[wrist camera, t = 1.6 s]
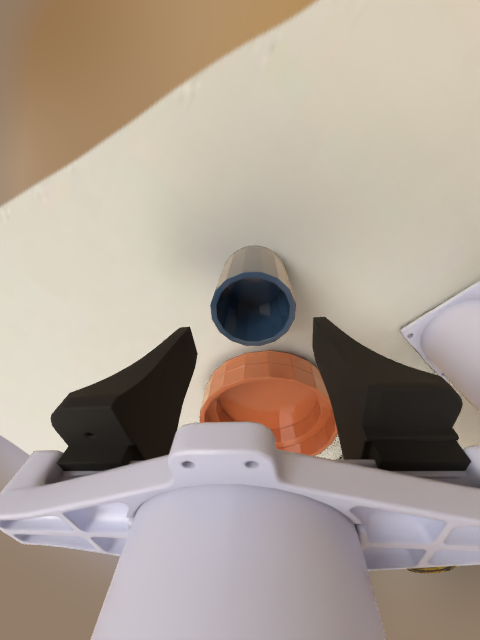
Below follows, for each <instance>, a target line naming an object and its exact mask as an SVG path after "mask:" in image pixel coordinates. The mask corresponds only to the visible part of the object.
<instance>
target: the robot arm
mask: <svg viewBox="0 0 480 640" xmlns="http://www.w3.org/2000/svg"><path fill="white" fill-rule="evenodd" d="M410 333H411V334H410ZM401 334H402V335H403V336H404V337H405V339H406V340H407V341H408V342H409V343H410V344H411V345H412V346H413V347H414V349H415V350H416V351H417V352H418V353H419V354H420V355H421V356H422V357H423V359H424V360H425V361H426V362H427V363H428V364H429V365H430V366H431V367H432V369H433V370H434V371H435V372H436V373H437V374H438V375H439V376H438V375H434V374H431V373H427V372H424V371H420V370H417V369H414V368H411V367H408V366H406V365H403V364H400V363H398V362H395V361H393V360H391V359H388V358H386V357H384V356H382V355H380V354H378V353H376V352H374V351H372V350H370V349H368V348H367V347H365V346H363V345H361V344H360V343H358V342H357V341H355V340H354V339H352V338H351V337H349V336H348V335H347V334H345V333H344V332H343V331H341V330H340V329H339V328H338V327H336V326H335V325H334V324H333V323H332V322H330V321H329V320H328V319H327V318H326V317H315V318H313V351H314V356H315V360H316V363H317V366H318V369H319V372H320V374H321V377H322V380H323V382H324V385H325V388H326V390H327V393H328V396H329V399H330V402H331V406H332V410H333V414H334V418H335V422H336V427H337V431H338V435H339V440H340V444H341V449H342V453H343V458H344V460H331V459H326V458H320V457H315V456H310V455H305V454H300V453H295V452H290V451H285V450H280V449H277V448H276V443H275V436H274V434H273V432H272V431H271V429H269V428H268V427H266V426H264V425H262V424H261V423H256V422H249V421H245V422H205V423H191V424H187V425H183V426H182V427H181V428H180V429H178V430H177V428H178V422H179V418H180V413H181V409H182V405H183V401H184V398H185V395H186V392H187V390H188V387H189V384H190V381H191V378H192V375H193V372H194V369H195V365H196V359H197V350H196V347H195V343H194V340H193V336H192V332H191V329H190V327H182V328H179V329H178V330H176V331H175V332H174V333H173V334H172V335H170V336H169V337H168V338H167V339H166V340H164V341H163V342H162V343H161V344H160V345H159V346H157V347H156V348H155V349H153V350H152V351H151V352H149V353H148V354H147V355H146V356H144V357H143V358H141V359H140V360H138V361H137V362H135V363H134V364H132V365H130V366H129V367H127V368H125V369H123V370H122V371H120V372H118V373H116V374H114V375H112V376H110V377H108V378H106V379H104V380H102V381H99V382H97V383H95V384H92V385H90V386H87V387H85V388H82V389H79V390H77V391H74V392H71V393H69V394H68V396H67V397H66V398H65V399H64V400H63V402H62V403H61V404H60V405H59V406H58V407H57V409H56V410H55V411H54V412H53V413H52V415H51V423H52V426H53V427H54V429H55V430H56V432H57V433H58V434H59V435H60V436H61V437H62V439H63V440H64V441H65V442H66V443H67V445H68V448H67V449H66V451H65V452H64V453H63V452H60V451H55V450H52V451H34V452H33V453H32V454H31V456H30V457H29V458H28V459H27V461H26V462H25V463H24V465H23V466H22V467H21V468H20V469H19V471H18V472H17V473H16V475H15V476H14V477H13V478H12V479H11V481H10V482H9V483H8V484H7V486H6V487H5V488H4V489H3V490H2V492H1V493H0V530H1V531H3V532H5V533H6V534H8V535H9V536H11V537H12V538H14V539H15V540H17V541H18V542H20V543H22V544H34V545H48V546H57V547H65V548H72V549H79V550H85V551H92V552H98V553H104V554H110V555H116V556H120V559H119V562H118V565H117V567H116V570H115V573H114V576H113V579H112V581H111V584H110V587H109V590H108V593H107V596H106V598H105V601H104V604H103V606H102V610H101V612H100V615H99V618H98V620H97V623H96V626H95V629H94V632H93V634H92V637H91V640H387V639H386V636H385V632H384V628H383V625H382V621H381V617H380V614H379V610H378V606H377V602H376V599H375V595H374V592H373V588H372V585H371V581H370V577H369V573H368V571H376V570H394V569H410V568H427V567H443V566H463V565H480V446H469V447H467V448H464V449H462V448H461V447H460V445H459V444H458V443H457V441H456V440H458V439H459V437H458V435H457V433H456V432H455V431H454V429H453V428H452V427H453V425H454V423H455V421H456V419H457V417H458V416H459V414H460V411H461V408H462V399H461V398H460V396H459V395H458V394H457V393H456V391H455V390H454V389H453V388H452V387H451V386H450V385H449V384H448V383H447V382H449V381H451V383H452V384H453V385H454V386H455V387H456V388H457V389H458V390H459V391H460V392H461V393H462V394H463V396H464V397H465V398H466V399H467V400H468V401H469V402H470V403H471V404H472V405H473V406H474V407H475V409H476V410H477V411H478V412H479V413H480V281H478V282H476V283H475V284H473V285H472V286H470V287H468V288H467V289H465V290H464V291H462V292H460V293H459V294H457V295H455V296H454V297H452V298H451V299H449V300H447V301H446V302H444V303H442V304H441V305H439V306H438V307H436V308H434V309H433V310H431V311H429V312H428V313H426V314H425V315H423V316H421V317H420V318H418V319H416V320H415V321H413V322H412V323H410V324H408V325H407V326H405V327H404V328H402V329H401ZM409 334H410V335H409Z"/></svg>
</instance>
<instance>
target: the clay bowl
mask: <svg viewBox="0 0 480 640" xmlns="http://www.w3.org/2000/svg"><path fill="white" fill-rule="evenodd" d="M245 421H249V422H256V423H261V424H262V425H264V426H266V427H268V428H269V429H271V431H272V432H273V434H274V436H275V443H276V448H277V449H280V450H285V451H290V452H295V453H300V454H305V455H310V456H315V455H317V454H320V453H321V452H322V451H323V450H325V449H326V448H327V447H328V446H329V445H331V444H332V443H333V441H334V439H335V437H336V436H337V434H338V431H337V427H336V422H335V418H334V414H333V410H332V406H331V402H330V399H329V396H328V393H327V390H326V388H325V385H324V382H323V380H322V377H321V374H320V372H319V369H318V368H316V367H315V366H314V365H313V364H312V363H311V362H309V361H307V360H305V359H302V358H300V357H297V356H295V355H293V354H290V353H283V352H276V351H261V352H252V353H247V354H246V353H245V354H243V355H240V356H237V357H235V358H232V359H230V360H228V361H226V362H225V363H224V364H223V365H221V366H220V367H219V368H218V369H216V370H215V371H214V372H213V374H212V376H211V378H210V380H209V381H208V383H207V386H206V390H205V394H204V398H203V402H202V406H201V410H200V423H205V422H245Z"/></svg>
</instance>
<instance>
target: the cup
mask: <svg viewBox="0 0 480 640" xmlns="http://www.w3.org/2000/svg"><path fill="white" fill-rule="evenodd" d="M210 306H211V315H212V320H213V322H214V323H215V325H216V327H217V328H218V330H219V331H220V333H222V334H223V335H224V336H226V337H227V338H228V339H230V340H231V341H233V342H236V343H239V344H242V345H246V346H262V345H265V344H268V343H271V342H274V341H276V340H277V339H279V338H280V337H281V336H283V335H284V334H285V333H286V332H287V331H288V330H289V328H290V326H291V324H292V323H293V321H294V319H295V309H296V303H295V300H294V296H293V293H292V289H291V286H290V282H289V278H288V275H287V272H286V269H285V266H284V264H283V262H282V260H281V259H280V257H279V256H278V255H277V254H276V253H275V252H273V251H272V250H270V249H268V248H265V247H261V246H248V247H244V248H241V249H239V250H237V251H236V252H235V253H233V254H232V255H231V256H230V257H229V259H228V260H227V262H226V263H225V265H224V268H223V271H222V274H221V276H220V279H219V282H218V284H217V287H216V290H215V293H214V296H213V298H212V301H211V305H210Z"/></svg>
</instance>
